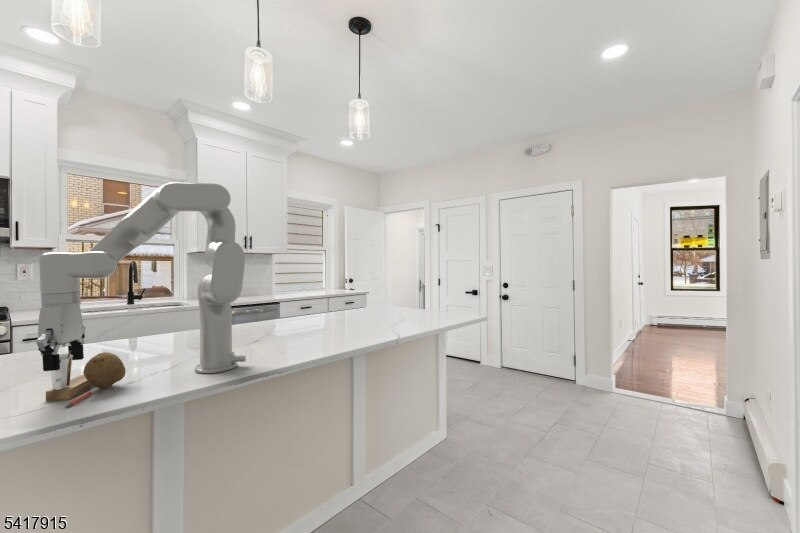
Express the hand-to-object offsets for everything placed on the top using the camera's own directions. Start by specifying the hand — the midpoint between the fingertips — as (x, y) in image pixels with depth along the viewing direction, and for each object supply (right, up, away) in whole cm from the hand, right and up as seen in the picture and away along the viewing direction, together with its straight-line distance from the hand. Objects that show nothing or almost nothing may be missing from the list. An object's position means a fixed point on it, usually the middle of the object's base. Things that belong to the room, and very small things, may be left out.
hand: (64, 364), depth 95 cm
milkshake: (0, -6, 0) cm, 6 cm away
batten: (-2, -9, +5) cm, 10 cm away
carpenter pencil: (+5, -9, -1) cm, 10 cm away
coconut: (+4, -9, +8) cm, 12 cm away
